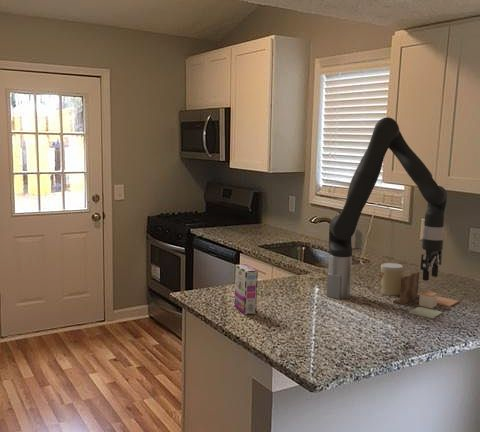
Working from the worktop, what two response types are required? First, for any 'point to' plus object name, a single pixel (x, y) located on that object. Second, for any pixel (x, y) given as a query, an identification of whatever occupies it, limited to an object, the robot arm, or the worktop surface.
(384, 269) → the coffee cup
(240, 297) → the candy bar box
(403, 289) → the screen
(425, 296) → the block
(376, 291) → the worktop surface
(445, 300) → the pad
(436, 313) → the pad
